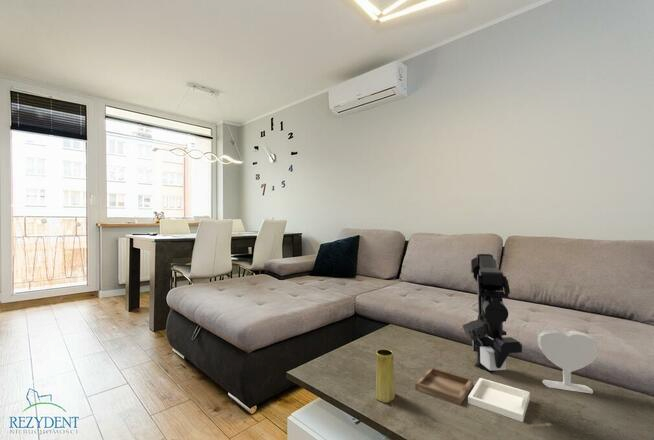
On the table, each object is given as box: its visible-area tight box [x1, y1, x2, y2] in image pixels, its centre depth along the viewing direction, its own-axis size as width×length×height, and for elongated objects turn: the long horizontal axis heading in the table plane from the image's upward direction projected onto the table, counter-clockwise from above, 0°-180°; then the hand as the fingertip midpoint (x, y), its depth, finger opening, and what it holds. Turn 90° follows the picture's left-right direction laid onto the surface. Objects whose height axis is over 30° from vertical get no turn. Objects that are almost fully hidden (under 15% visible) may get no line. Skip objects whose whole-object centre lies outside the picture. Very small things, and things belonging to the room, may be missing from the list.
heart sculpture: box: [536, 328, 599, 394], centre depth 101 cm, size 16×5×18 cm, turn 69°
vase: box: [375, 348, 396, 404], centre depth 97 cm, size 6×6×14 cm
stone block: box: [480, 346, 507, 371], centre depth 94 cm, size 5×5×5 cm
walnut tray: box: [414, 366, 474, 406], centre depth 101 cm, size 14×14×2 cm
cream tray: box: [467, 377, 531, 423], centre depth 93 cm, size 14×14×2 cm
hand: (492, 363), depth 94 cm, fingers closed on stone block, 5 cm apart
